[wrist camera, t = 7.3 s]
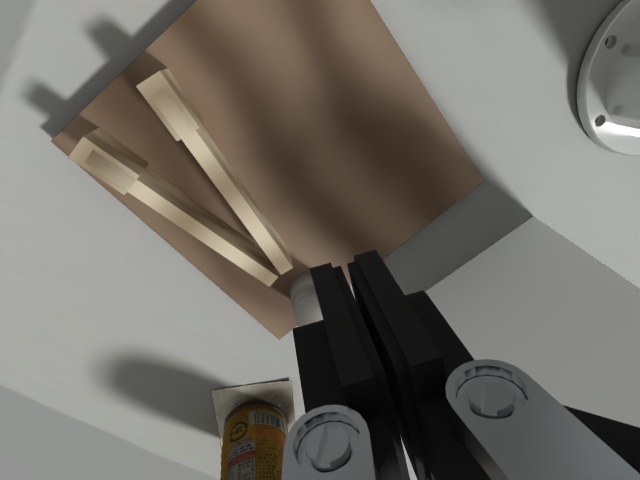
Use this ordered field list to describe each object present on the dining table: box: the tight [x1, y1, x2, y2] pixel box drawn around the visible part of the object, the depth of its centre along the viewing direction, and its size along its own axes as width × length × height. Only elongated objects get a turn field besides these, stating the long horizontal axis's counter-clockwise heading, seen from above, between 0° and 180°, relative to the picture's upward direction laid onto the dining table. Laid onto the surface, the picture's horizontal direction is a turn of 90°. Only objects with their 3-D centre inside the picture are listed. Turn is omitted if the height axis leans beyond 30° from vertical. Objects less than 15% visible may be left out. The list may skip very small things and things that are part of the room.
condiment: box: [211, 381, 295, 480], centre depth 35 cm, size 7×8×12 cm
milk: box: [425, 216, 640, 428], centre depth 28 cm, size 12×12×26 cm
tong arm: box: [136, 68, 293, 275], centre depth 28 cm, size 15×2×3 cm, turn 30°
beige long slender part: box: [68, 128, 323, 327], centre depth 29 cm, size 20×3×4 cm, turn 48°
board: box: [51, 0, 483, 339], centre depth 30 cm, size 21×22×1 cm
